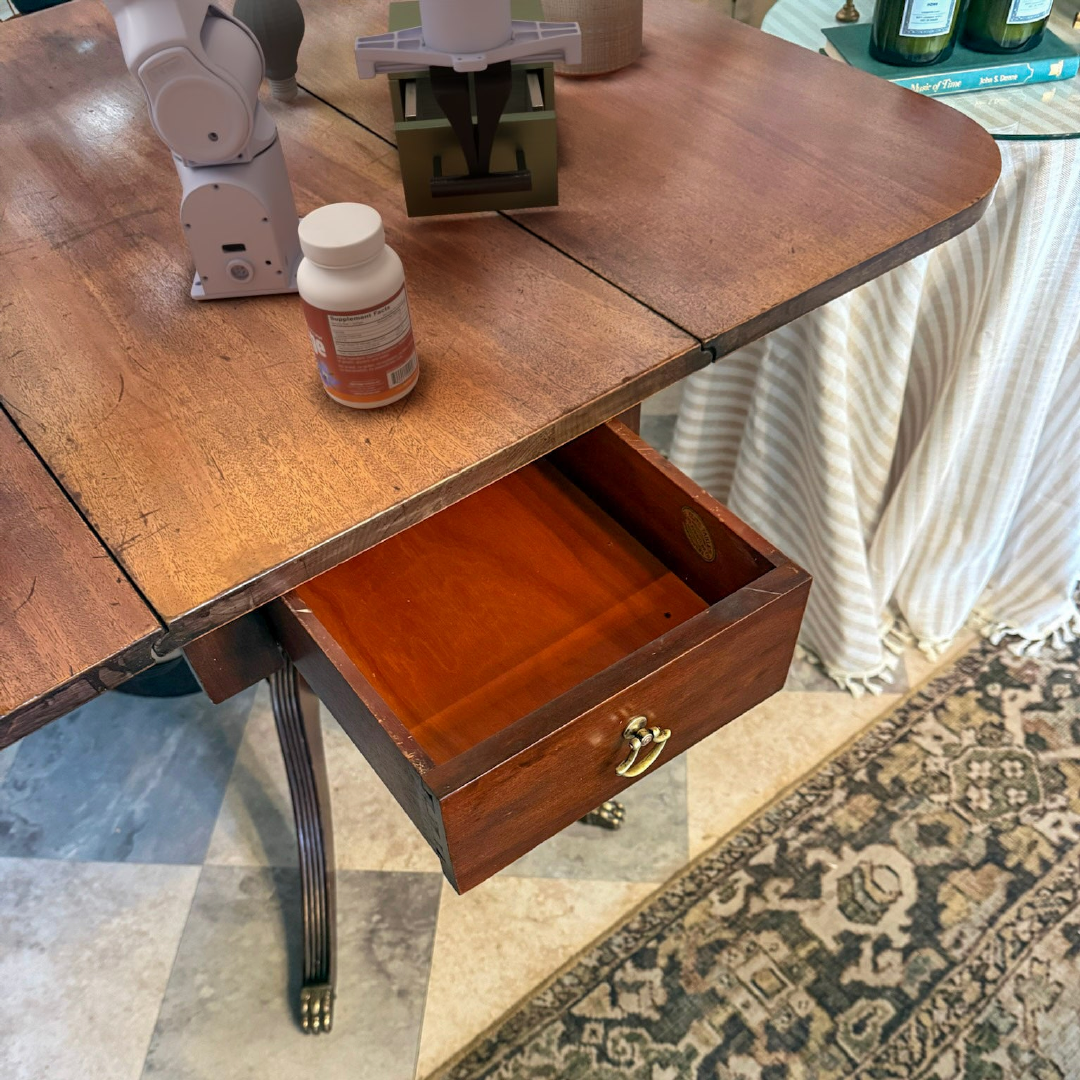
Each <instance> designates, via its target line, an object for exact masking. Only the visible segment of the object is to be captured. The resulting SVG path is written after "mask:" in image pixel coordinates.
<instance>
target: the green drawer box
mask: <svg viewBox="0 0 1080 1080" xmlns="http://www.w3.org/2000/svg"><path fill="white" fill-rule="evenodd" d="M388 6H389V7H388V26H387V27H388V28H387V33H390V32H395V31H400V30H404V29H409V28H414V27H419V26H422V23H421V14H420V6H419V0H407V1H406V0H405V1H391V2H389V5H388ZM510 6H511V20H523V21H537V22H545V18H544V14H543V9H542V5H541V1H540V0H510ZM524 69H536V71H537V76H538V81H539V86H540V91H541V96H542V101H543V108H544V111H551V110H554V111H555V112H556V95H555V93H556V92H555V74H554V62H542V63H528V64H513V65H511V70H524ZM472 73H474V72H473V71H471V72H468V74H472ZM386 76H387V81H388V89H389V96H390V101H391V103H390V104H391V109H392V116H393V123H394V124H395V123H397V122H406V117H405V111H406V79H407V78H420V77H430V70H428V71H414V72H400V73H386Z"/></svg>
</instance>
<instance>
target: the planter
mask: <svg viewBox="0 0 1080 1080" xmlns="http://www.w3.org/2000/svg"><path fill="white" fill-rule="evenodd" d="M540 1H541V5H542V9H543V14H544V18H545V22H553V23H570V22H578V24H579V27H580V31H581V49H582V63H581V64H574V65H567V64H565V63H564V61H556V62H554V76H555V75H556V76H560V77H566V78H575V79H576V78H579V79H589V78H599V77H605V76H608V75H613V74H616V73H618V72H620V71H622V70H624V69H626V68H628V67H630V66H631V65H632V64H633V63H634V62H635V61H637V59H639V58H640V55H641V54H642V49H643V48H642V47H643V29H644V27H643V26H644V25H643V21H644V19H643V18H644V0H540Z"/></svg>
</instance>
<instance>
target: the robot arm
mask: <svg viewBox="0 0 1080 1080" xmlns="http://www.w3.org/2000/svg"><path fill="white" fill-rule="evenodd" d="M101 2H102V3H103V5H104V6H105V8H106V9H107V10H108V13H110V15H111V16H112V18H113V20H114V24H115V27H116V30H117V34H118V38H119V42H120V46H121V49H122V54H123V58H124V61H125V65H126V67H127V70H128V71H129V73H130V74H131V76H132V77H133V78H134V80H135V82H136V83H137V84H138V87H139V88H140V90H141V92H142V93H143V95H144V99H145V101H146V107H147V112H148V113H147V114H148V117H149V120H150V124H151V126H152V128H153V130H154V132H155V133H156V135H157V137H159V139H160V141H162V142H163V143H164V145H165V146H166V147H167V148H169V150H170V152H171V157H172V159H173V162H174V166H175V169H176V172H177V174H178V175H177V176H178V178H179V181H180V185H181V186H182V196H181V202H180V209H179V218H180V224H181V227H182V230H183V233H184V237H185V239H186V242H187V245H188V248H189V251H190V254H191V257H192V261H193V264H194V267H195V268H196V271H195V273H194V278H193V282H192V285H191V290H190V296H191V298H192V299H193V300H196V301H202V300H203V301H204V300H213V299H214V300H215V299H225V298H226V299H227V298H228V299H229V298H237V297H238V298H239V297H251V296H262V295H276V294H286V293H288V294H289V293H299V289H298V284H297V272H298V268H299V265H300V263H301V261H302V260H303V258H304V257H305V256H304V253H303V251H302V248H301V244H300V239H299V234H298V227H299V224H300V222H301V221H302V220H303V218H304V217H299V213H298V210H297V206H296V201H295V197H294V193H293V189H292V184H291V181H290V175H289V172H288V167H287V164H286V159H285V156H284V151H283V147H282V143H281V139H280V135H279V131H278V126H277V122H276V120H275V119H274V118H273V116H272V115H271V114H270V113H269V112H268V110H267V109H266V108H265V106H264V105H263V103H262V101H260V99H259V91H260V89H261V86H262V84H263V82H264V79H265V76H264V75H265V59H264V55H263V51H262V48H261V46H260V44H259V42H258V40H257V38H256V37H255V35H254V34H253V33H252V32H251V30H250V29H249V28H248V27H247V26H246V25H245V24H244V23H242V22H241V21H240V20H238V19H237V18H235V17H234V16H233V14H231V13H230V12H228V11H227V10H226V9H225V8H224V7H223V6H222V5H221V3H220V2H219V1H218V0H101ZM419 6H420V14H421V23H422V26H419V27H414V28H409V29H404V30H400V31H395V32H390V33H388V32H386V33H381V34H375V35H368V36H357V37H355V38H354V48H353V52H354V57H355V58H354V59H355V64H356V70H357V75H358V79H359V80H372V79H375V78H376V77H377V75H384V74H386V75H387V73H400V72H414V71H428V70H430V80H431V91H432V93H433V96H434V98H435V100H436V102H437V103H438V105H439V106H440V108H441V109H442V111H443V112H444V114H445V116H446V117H447V119H448V121H449V122H450V124H451V126H452V128H453V130H454V132H455V134H456V136H457V138H458V141H459V143H460V145H461V148H462V151H463V153H464V156H465V159H466V163H467V166H468V171H469V174H480V173H489V166H490V157H491V151H492V146H493V141H494V137H495V133H496V130H497V127H498V124H499V121H500V118H501V115H502V113H503V110H504V108H505V105H506V103H507V101H508V99H509V97H510V93H511V90H512V85H513V80H512V72H511V65H513V64H528V63H542V62H556V61H564V63H565V64H567V65H574V64H581V63H582V49H581V31H580V27H579V24H578V22H570V23H553V22H537V21H523V20H511V6H510V0H419ZM471 71H473V72H474V84H475V96H476V108H477V145H476V140H475V134H474V128H473V122H472V115H471V105H470V93H469V82H468V72H471Z"/></svg>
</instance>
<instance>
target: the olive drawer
mask: <svg viewBox="0 0 1080 1080" xmlns="http://www.w3.org/2000/svg"><path fill="white" fill-rule="evenodd" d="M511 72H512V80H513V85H512V90H511V93H510V97H509V99H508V101H507V103H506V105H505V108H504V110H503V113H502V115H501V118H500V121H499V124H498V127H497V130H496V133H495V137H494V141H493V146H492V151H491V157H490V166H489V173H480V174H469V171H468V166H467V163H466V159H465V156H464V153H463V151H462V148H461V145H460V143H459V141H458V138H457V136H456V134H455V132H454V130H453V128H452V126H451V124H450V122H449V121H448V119H447V117H446V116H445V114H444V112H443V111H442V109H441V108H440V106H439V105H438V103H437V102H436V100H435V98H434V96H433V93H432V91H431V80H430V77H420V78H407V79H406V111H405V117H406V122H397V123H394V133H395V141H396V147H397V155H398V161H399V167H400V174H401V181H402V187H403V193H404V200H405V201H404V202H405V207H406V214H407V218H408V219H409V218H410V219H411V218H423V217H435V216H448V215H449V216H450V215H461V214H472V213H473V214H474V213H485V212H498V211H510V210H511V211H512V210H523V209H534V208H535V209H537V208H548V207H558V206H559V205H560V203H559V202H560V199H559V167H558V166H559V165H558V131H557V128H558V127H557V115H556V110H555V111H554V110H551V111H544V108H543V101H542V96H541V91H540V86H539V81H538V76H537V71H536V69H524V70H511ZM468 82H469V93H470V105H471V115H472V122H473V128H474V134H475V140H476V145H477V108H476V96H475V84H474V73H472V74H468Z"/></svg>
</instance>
